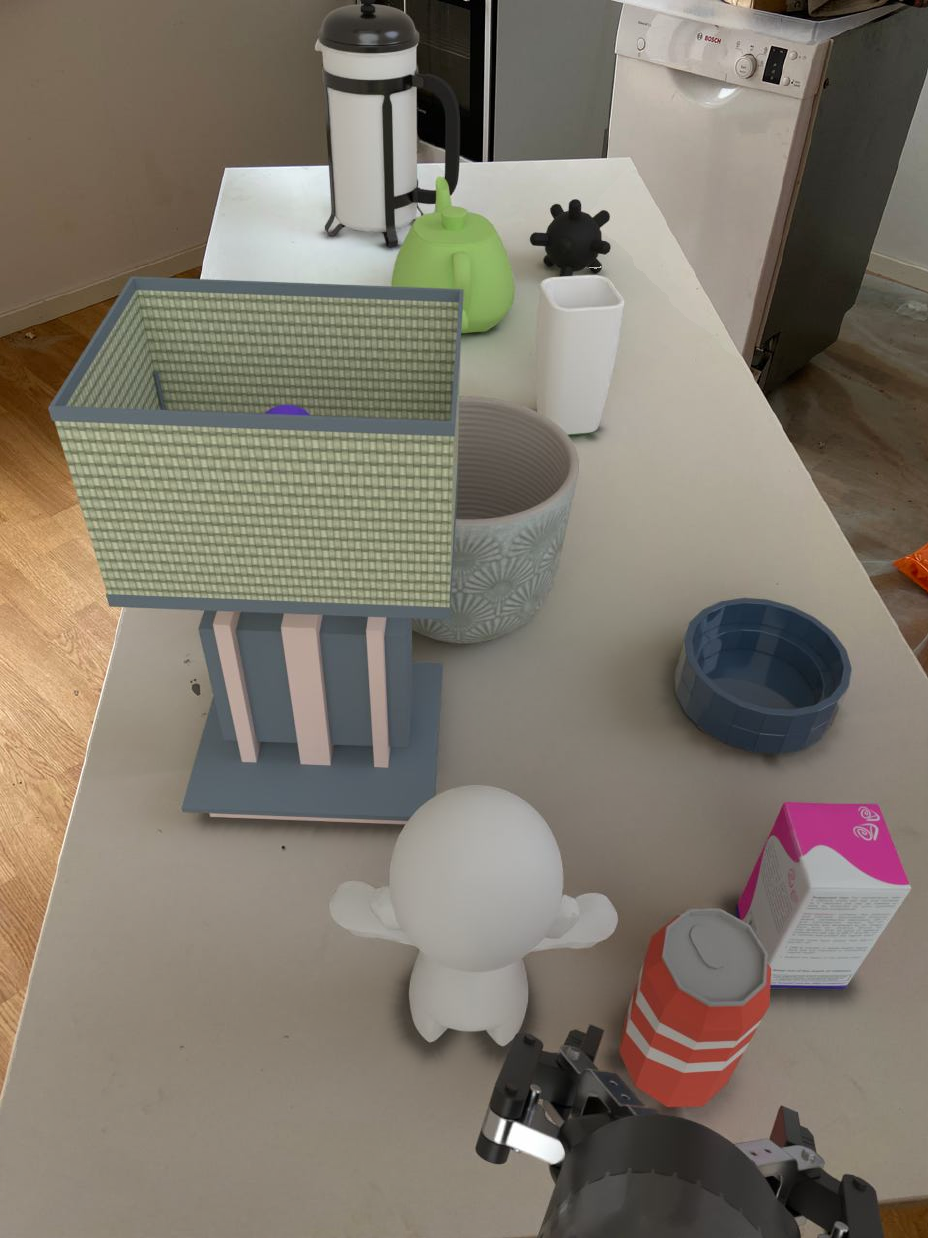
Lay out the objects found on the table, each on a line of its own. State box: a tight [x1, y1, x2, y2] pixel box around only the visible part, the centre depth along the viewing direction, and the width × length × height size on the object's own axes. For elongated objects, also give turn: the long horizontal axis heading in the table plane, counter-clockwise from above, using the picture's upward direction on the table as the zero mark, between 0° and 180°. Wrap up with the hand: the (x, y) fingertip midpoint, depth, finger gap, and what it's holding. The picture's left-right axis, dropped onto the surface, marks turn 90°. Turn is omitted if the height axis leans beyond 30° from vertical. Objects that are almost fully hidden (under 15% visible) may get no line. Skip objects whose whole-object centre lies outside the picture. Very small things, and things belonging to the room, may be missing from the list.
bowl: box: [673, 597, 853, 755], centre depth 74 cm, size 12×12×5 cm
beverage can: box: [619, 908, 771, 1108], centre depth 52 cm, size 6×6×12 cm
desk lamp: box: [47, 276, 464, 825], centre depth 60 cm, size 18×14×33 cm
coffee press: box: [314, 0, 461, 248], centre depth 130 cm, size 17×16×30 cm
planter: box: [412, 395, 580, 645], centre depth 78 cm, size 17×17×15 cm
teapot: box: [390, 176, 515, 334], centre depth 117 cm, size 22×15×13 cm
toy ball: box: [529, 198, 611, 277], centre depth 128 cm, size 11×11×12 cm
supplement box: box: [735, 801, 912, 990], centre depth 57 cm, size 6×6×12 cm
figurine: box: [328, 784, 619, 1047], centre depth 50 cm, size 16×8×20 cm, turn 88°
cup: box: [534, 274, 626, 437], centre depth 99 cm, size 7×7×15 cm
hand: (683, 1086), depth 43 cm, fingers open, 8 cm apart
